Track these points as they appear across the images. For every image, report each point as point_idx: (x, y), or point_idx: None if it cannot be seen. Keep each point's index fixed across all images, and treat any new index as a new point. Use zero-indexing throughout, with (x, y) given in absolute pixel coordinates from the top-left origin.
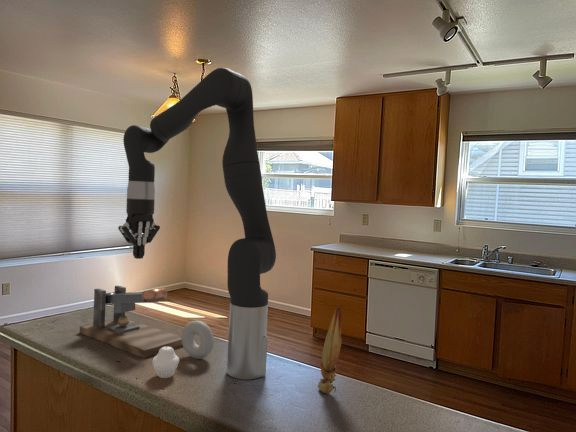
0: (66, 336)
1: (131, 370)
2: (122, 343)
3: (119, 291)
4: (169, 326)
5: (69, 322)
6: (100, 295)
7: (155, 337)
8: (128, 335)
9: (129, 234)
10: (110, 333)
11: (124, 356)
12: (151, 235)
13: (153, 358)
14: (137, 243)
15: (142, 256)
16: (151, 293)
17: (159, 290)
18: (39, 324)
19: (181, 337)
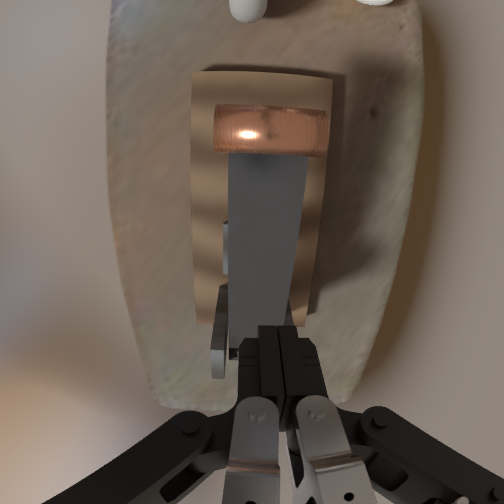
0: (332, 314)
1: (387, 57)
2: (326, 164)
3: (224, 351)
4: (125, 220)
5: None
6: None
7: None
8: None
9: (445, 466)
10: (299, 240)
11: (348, 124)
12: (159, 472)
13: (388, 1)
14: (336, 412)
15: (265, 330)
16: (309, 112)
17: (255, 115)
18: None
19: (262, 14)
